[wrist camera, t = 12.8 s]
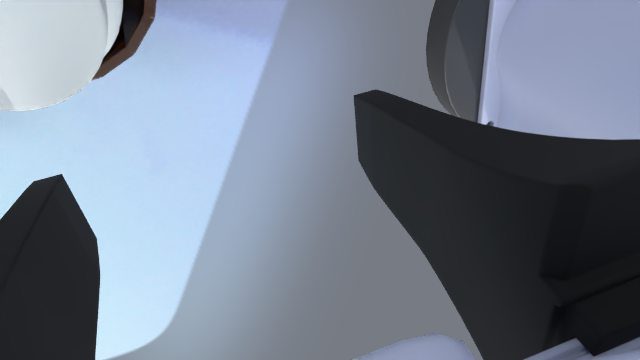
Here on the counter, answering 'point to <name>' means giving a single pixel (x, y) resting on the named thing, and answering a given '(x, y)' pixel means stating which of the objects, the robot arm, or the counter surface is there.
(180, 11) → the counter surface
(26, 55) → the pill bottle
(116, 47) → the cup
